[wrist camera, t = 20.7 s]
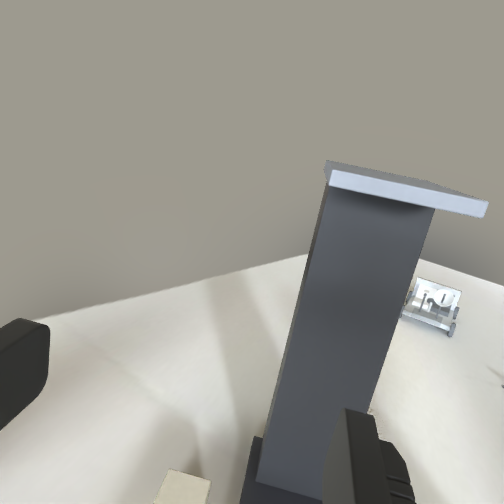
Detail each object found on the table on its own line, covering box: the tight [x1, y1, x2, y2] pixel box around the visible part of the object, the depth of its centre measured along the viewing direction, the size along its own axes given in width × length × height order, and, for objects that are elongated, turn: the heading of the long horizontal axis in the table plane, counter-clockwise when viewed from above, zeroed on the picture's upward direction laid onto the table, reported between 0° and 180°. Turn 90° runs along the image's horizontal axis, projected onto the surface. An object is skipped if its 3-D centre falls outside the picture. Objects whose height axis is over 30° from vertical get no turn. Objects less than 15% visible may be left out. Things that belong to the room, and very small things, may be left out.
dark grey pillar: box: [239, 160, 488, 504], centre depth 34 cm, size 10×13×32 cm
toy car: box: [399, 277, 462, 337], centre depth 91 cm, size 18×10×12 cm
